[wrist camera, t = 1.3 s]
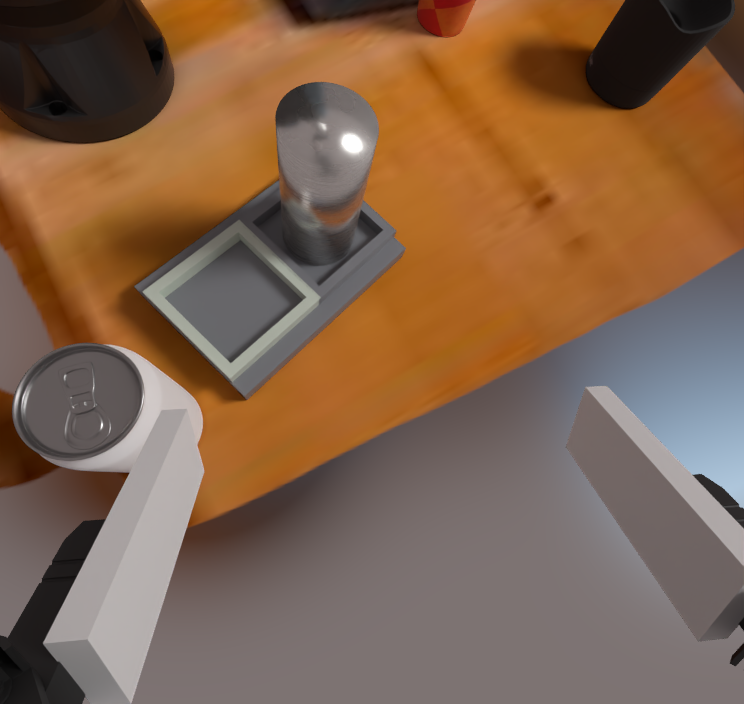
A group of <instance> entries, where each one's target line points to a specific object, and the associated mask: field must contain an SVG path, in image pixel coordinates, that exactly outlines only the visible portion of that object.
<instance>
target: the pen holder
mask: <svg viewBox="0 0 744 704" xmlns="http://www.w3.org/2000/svg"><path fill="white" fill-rule="evenodd" d="M734 11H735V4H734V0H625V2H624V3H623V5H622V6H621V8H620V9H619V11H618V13H617V14H616V16H615V17H614V19H613V20H612V22H611V23H610V25H609V26H608V28H607V30H606V31H605V33H604V34H603V36H602V37H601V39H600V41H599V42H598V44H597V45H596V47H595V49H594V50H593V52H592V54H591V55H590V57H589V59H588V61H587V64H586V75H587V79H588V82H589V84H590V86H591V87H592V89H593V90H594V91H595V92H596V94H597V95H598V96H600V97H601V98H602V99H603V100H605V101H606V102H608V103H610V104H612V105H614V106H617V107H621V108H636V107H640V106H642V105H644V104H646V103H647V102H648V101H649V100H650V99H651V98H653V97H654V96H655V95H656V94H657V93H658V92H659V91H660V90H661V89H662V88H663V87H664V86H665V85H666V84H667V83H668V82H669V81H670V80H671V79H672V78H673V77H674V76H675V75H676V74H677V73H678V72H679V71H680V70H681V69H682V68H683V67H684V66H685V65H686V64H687V63H688V62H689V61H690V60H691V59H692V58H693V57H694V56H695V55H696V54H697V53H698V52H699V51H700V50H701V49H702V48H703V47H704V46H705V45H706V44H707V43H708V42H709V41H710V40H711V39H712V38H713V37H714V36H715V35H716V34H717V33H718V32H719V31H720V30H721V29H722V28H723V27H724V26H725V25H726V24H727V23H728V22H729V21H730V20H731V18H732V17H733V14H734Z"/></svg>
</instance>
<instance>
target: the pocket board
mask: <svg viewBox="0 0 744 704" xmlns="http://www.w3.org/2000/svg"><path fill="white" fill-rule="evenodd" d="M395 233H396V230H395V229H394V228H393V227H392V226H391V225H390V224H389V223H387V222H386V221H385V220H384V219H383V218H382V217H381V216H380V215H379V214H378V213H377V212H375V211H374V210H373V209H372V208H371V207H370V206H369V205H368V204H367V203H366V202H365V201H363V202H362V207H361V211H360V215H359V219H358V224H357V228H356V232H355V236H354V241H353V244H352V247H351V249H350V251H349V253H348V254H347V255H346V256H345V257H344V258H343V259H341V260H340V261H338V262H336V263H334V264H331V265H326V266H315V265H310V264H307V263H304V262H302V261H300V260H299V259H297V258H296V257H295V256H293V255H292V254H291V253H290V251H289V250H288V249H287V247H286V245H285V243H284V240H283V232H282V215H281V199H280V183H279V180H278V181H277V182H276V183H274V184H273V185H272V186H270V187H269V188H267V189H266V190H265V191H263V192H262V193H261V194H259V195H258V196H257V197H255V198H254V199H252V200H251V201H250V202H248V203H247V204H246V205H244V206H243V207H242V208H240V209H239V210H238V211H236V212H235V213H233V214H232V215H231V216H229V217H228V218H227V219H225V220H224V221H223V222H221V223H220V224H218V225H217V226H216V227H214V228H213V229H212V230H210V231H209V232H208V233H206V234H205V235H203V236H202V237H201V238H199V239H198V240H197V241H195V242H194V243H193V244H191V245H190V246H189V247H187V248H186V249H184V250H183V251H182V252H180V253H179V254H178V255H176V256H175V257H174V258H172V259H171V260H169V261H168V262H167V263H165V264H164V265H163V266H161V267H160V268H159V269H157V270H156V271H154V272H153V273H152V274H150V275H149V276H148V277H146V278H145V279H144V280H142V281H141V282H140V283H138V284H137V285H135V286H134V287H135V288H136V289H137V291H138V292H139V293H140V294H141V295H142V296H143V297H144V298H145V299H146V300H147V301H148V302H149V303H150V304H151V305H152V306H153V307H154V308H155V309H156V310H157V311H158V312H159V313H160V314H161V315H162V316H163V317H164V318H165V319H166V320H167V321H168V322H169V323H170V324H171V325H172V326H173V327H174V328H175V329H176V330H177V331H178V332H179V333H180V334H181V335H182V336H183V337H184V338H185V339H186V340H187V341H188V342H189V343H190V344H191V345H192V346H193V347H194V348H195V349H196V350H197V351H198V352H199V353H200V354H201V355H202V356H203V357H204V358H205V359H206V360H207V361H208V362H209V363H210V364H211V365H212V366H213V367H214V368H215V369H216V370H217V371H218V372H219V373H220V374H221V375H222V376H223V377H224V378H225V379H226V380H227V381H228V382H229V383H230V384H231V385H232V386H233V387H234V388H235V389H236V390H237V391H238V392H239V393H240V394H241V395H242V396H243V397H244V398H245V399H246V400H248V399H249V398H250V397H251V396H252V395H253V394H254V393H255V392H256V391H257V390H258V389H260V388H261V387H262V386H263V385H264V384H265V383H266V382H267V381H268V380H269V379H270V378H271V377H272V376H274V375H275V374H276V373H277V372H278V371H279V370H280V369H281V368H282V367H283V366H284V365H285V364H287V363H288V362H289V361H290V360H291V359H292V358H293V357H294V356H295V355H296V354H297V353H298V352H300V351H301V350H302V349H303V348H304V347H305V346H306V345H307V344H308V343H309V342H310V341H311V340H313V339H314V338H315V337H316V336H317V335H318V334H319V333H320V332H321V331H322V330H323V329H324V328H326V327H327V326H328V325H329V324H330V323H331V322H332V321H333V320H334V319H335V318H336V317H337V316H339V315H340V314H341V313H342V312H343V311H344V310H345V309H346V308H347V307H348V306H349V305H350V304H352V303H353V302H354V301H355V300H356V299H357V298H358V297H359V296H360V295H361V294H362V293H363V292H365V291H366V290H367V289H368V288H369V287H370V286H371V285H372V284H373V283H374V282H375V281H376V280H378V279H379V278H380V277H381V276H382V275H383V274H384V273H385V272H386V271H387V270H388V269H389V268H391V267H392V266H393V265H394V264H395V263H396V262H397V261H398V260H399V259H400V258H401V257H402V255H403V253H404V251H405V249H406V248H405V247H404V246H403V245H402V244H401V243H400V242H398V241H397V240H396V239H395V238H394V236H395Z"/></svg>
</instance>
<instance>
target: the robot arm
mask: <svg viewBox="0 0 744 704" xmlns="http://www.w3.org/2000/svg"><path fill="white" fill-rule="evenodd" d="M173 85H174V69H173V64H172V61H171V58H170V54H169V51H168V48H167V44H166V42H165V39H164V37H163V35H162V33H161V31H160V29H159V27H158V26H157V24H156V23H155V21H154V20H153V18H152V17H151V15H150V14H149V12H148V11H147V9H146V8H145V6H144V5H143V3H142V2H141V0H0V108H1V109H2V110H3V111H4V113H5V114H6V115H7V116H9V117H10V118H11V119H12V120H13V121H15V122H16V123H18V124H19V125H21V126H22V127H24V128H26V129H28V130H30V131H32V132H34V133H37V134H39V135H42V136H45V137H48V138H52V139H57V140H62V141H70V142H96V141H103V140H109V139H113V138H117V137H120V136H123V135H126V134H128V133H131V132H133V131H135V130H137V129H139V128H141V127H142V126H144V125H146V124H147V123H148V122H150V121H151V120H152V119H153V118H155V117H156V116H157V115H158V114H159V113H160V111H161V110H162V109H163V108H164V106H165V105H166V103H167V102H168V100H169V98H170V96H171V93H172V90H173ZM566 448H567V449H568V451H569V452H570V454H571V455H572V457H573V458H574V460H575V461H576V463H577V464H578V466H579V467H580V469H581V470H582V472H583V473H584V474H585V476H586V477H587V479H588V480H589V482H590V483H591V485H592V486H593V488H594V489H595V491H596V492H597V494H598V495H599V497H600V498H601V499H602V501H603V502H604V504H605V505H606V507H607V508H608V510H609V511H610V513H611V514H612V516H613V517H614V519H615V520H616V521H617V523H618V525H619V526H620V527H621V529H622V530H623V532H624V533H625V535H626V536H627V537H628V539H629V541H630V542H631V544H632V545H633V547H634V548H635V549H636V551H637V552H638V554H639V555H640V557H641V558H642V560H643V561H644V562H645V564H646V566H647V567H648V569H649V570H650V572H651V573H652V575H653V576H654V577H655V579H656V580H657V582H658V583H659V584H660V586H661V588H662V589H663V591H664V592H665V594H666V595H667V597H668V598H669V600H670V601H671V602H672V604H673V605H674V607H675V608H676V610H677V611H678V613H679V614H680V616H681V617H682V619H683V620H684V621H685V623H686V624H687V626H688V628H689V629H690V630H691V632H692V633H693V635H694V636H695V638H696V639H697V641H706V640H716V639H724V638H728V637H729V636H730V635H731V633H732V632H733V631H734V630H735V628H737V627H738V625H740V626H741V628H742V629H743V630H744V509H743V508H740V507H739V504H738V503H737V502H736V501H735V500H734V499H733V498H732V497H731V496H730V495H729V494H728V493H727V492H726V491H725V490H724V489H723V488H722V487H720V486H719V485H717V484H716V483H714V482H713V481H711V480H710V479H708V478H707V477H705V476H704V475H702V474H697V475H691V473H690V472H689V471H688V470H687V469H686V468H685V467H684V466H683V465H682V464H681V463H680V462H679V461H678V460H677V459H676V458H675V457H674V455H672V453H671V452H670V451H669V450H668V449H667V448H666V447H665V446H664V445H663V444H662V443H661V442H660V441H659V440H658V439H657V438H656V437H655V436H654V435H653V434H652V433H651V432H650V430H649V429H648V428H646V426H645V425H644V424H643V423H642V422H641V421H640V420H639V419H638V418H637V417H636V416H635V415H634V414H633V413H632V412H631V411H630V410H629V409H628V408H627V407H626V405H625V404H624V403H623V402H622V401H621V400H620V399H619V398H618V397H617V396H616V395H615V394H614V393H613V392H612V391H611V390H610V389H609V388H608V387H607V386H598V387H585V390H584V393H583V396H582V399H581V402H580V405H579V408H578V412H577V414H576V417H575V421H574V424H573V427H572V430H571V433H570V436H569V439H568V442H567V445H566ZM203 474H204V468H203V464H202V461H201V457H200V453H199V450H198V446H197V443H196V439H195V436H194V432H193V428H192V425H191V421H190V418H189V414H188V411H187V409H172V410H161V412H160V414H159V416H158V418H157V420H156V422H155V424H154V426H153V428H152V430H151V432H150V434H149V436H148V438H147V440H146V442H145V444H144V446H143V448H142V450H141V452H140V454H139V456H138V458H137V460H136V462H135V463H134V465H133V467H132V469H131V471H130V473H129V475H128V477H127V479H126V481H125V483H124V485H123V487H122V489H121V491H120V493H119V495H118V497H117V499H116V501H115V503H114V505H113V507H112V509H111V511H110V513H109V515H108V517H107V519H105V520H91V521H83V522H82V523H81V524H80V525H79V526H78V527H77V528H76V529H75V530H74V531H73V532H72V533H71V534H70V535H69V536H68V537H67V538H66V539H65V540H64V542H63V543H62V545H61V547H60V548H59V550H58V552H57V554H56V555H55V557H54V559H53V561H52V565H50V566H49V568H48V569H47V571H46V573H45V574H44V576H43V578H42V582H41V583H39V585H38V586H37V588H36V590H35V592H34V593H33V595H32V597H31V599H30V601H29V602H28V604H27V605H26V607H25V609H24V611H23V612H22V614H21V616H20V618H19V619H18V621H17V623H16V625H15V626H14V628H13V630H12V631H11V633H10V635H9V637H8V638H6V637H4V636H0V704H82V702H83V700H84V697H86V699H87V700H88V701H89V702H90V703H91V704H131V703H132V699H133V696H134V693H135V690H136V686H137V683H138V680H139V677H140V674H141V670H142V667H143V664H144V661H145V658H146V655H147V652H148V648H149V645H150V642H151V639H152V636H153V633H154V629H155V626H156V623H157V620H158V617H159V614H160V610H161V607H162V604H163V601H164V598H165V595H166V591H167V588H168V585H169V582H170V579H171V575H172V572H173V569H174V566H175V563H176V559H177V556H178V553H179V550H180V547H181V544H182V540H183V537H184V534H185V531H186V528H187V525H188V521H189V518H190V515H191V512H192V509H193V506H194V502H195V499H196V496H197V493H198V490H199V486H200V483H201V480H202V477H203ZM743 658H744V644H742V645H741V646H740V648H739V649H738V650H737V651H736V652H735V653H734V654H733V655H732V658H731V661H730V664H732V665H734V666H736V665H737V664H738V663H739V662H740V661H741V660H742V659H743Z"/></svg>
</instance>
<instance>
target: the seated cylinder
mask: <svg viewBox="0 0 744 704" xmlns="http://www.w3.org/2000/svg"><path fill="white" fill-rule="evenodd" d="M378 133H379V127H378V121H377V117H376V115H375V113H374V111H373V109H372V108H371V106H370V105H369V104H368V103H367V102H366V101H365V100H364V99H363V98H362V97H361V96H360V95H359V94H357V93H356V92H354V91H352V90H350V89H348V88H346V87H344V86H341V85H337V84H333V83H327V82H314V83H308V84H304V85H301V86H298V87H296V88H294V89H293V90H291V91H290V92H288V93H287V94H286V95H285V96H284V97H283V99H282V100H281V101H280V103H279V105H278V108H277V111H276V135H277V151H278V167H279V183H280V199H281V215H282V232H283V240H284V243H285V245H286V247H287V249H288V250H289V251H290V253H291V254H292V255H293V256H295V257H296V258H297V259H299V260H300V261H302V262H304V263H307V264H310V265H315V266H326V265H331V264H334V263H336V262H338V261H340V260H341V259H343V258H344V257H345V256H346V255H347V254H348V253H349V251H350V249H351V247H352V244H353V241H354V236H355V232H356V228H357V224H358V219H359V215H360V211H361V207H362V202H363V198H364V194H365V190H366V185H367V181H368V177H369V173H370V168H371V164H372V160H373V156H374V151H375V147H376V143H377V139H378Z"/></svg>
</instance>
